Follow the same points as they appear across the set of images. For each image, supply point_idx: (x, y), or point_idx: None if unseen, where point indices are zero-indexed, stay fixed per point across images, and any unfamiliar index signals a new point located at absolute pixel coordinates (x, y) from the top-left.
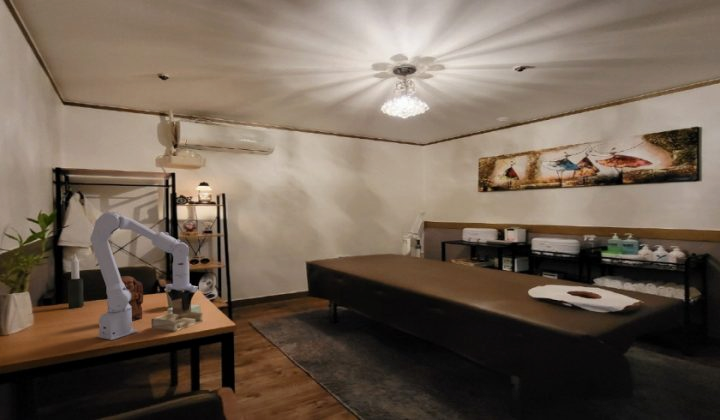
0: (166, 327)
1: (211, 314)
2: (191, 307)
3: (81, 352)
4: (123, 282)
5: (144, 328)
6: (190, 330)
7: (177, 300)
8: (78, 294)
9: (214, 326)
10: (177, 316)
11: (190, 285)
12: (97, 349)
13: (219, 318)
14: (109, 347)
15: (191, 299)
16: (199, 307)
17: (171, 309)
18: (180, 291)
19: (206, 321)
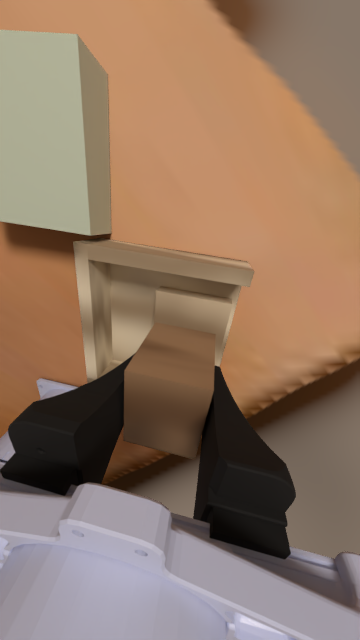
0: None
1: (219, 102)
2: (67, 135)
3: (112, 479)
4: None
5: (85, 365)
6: (264, 370)
7: (156, 441)
8: None
9: (355, 320)
10: (103, 271)
11: (230, 597)
12: (125, 471)
13: (327, 183)
14: (138, 466)
15: (241, 413)
16: (86, 61)
17: (2, 221)
18: (88, 441)
19: (269, 257)
